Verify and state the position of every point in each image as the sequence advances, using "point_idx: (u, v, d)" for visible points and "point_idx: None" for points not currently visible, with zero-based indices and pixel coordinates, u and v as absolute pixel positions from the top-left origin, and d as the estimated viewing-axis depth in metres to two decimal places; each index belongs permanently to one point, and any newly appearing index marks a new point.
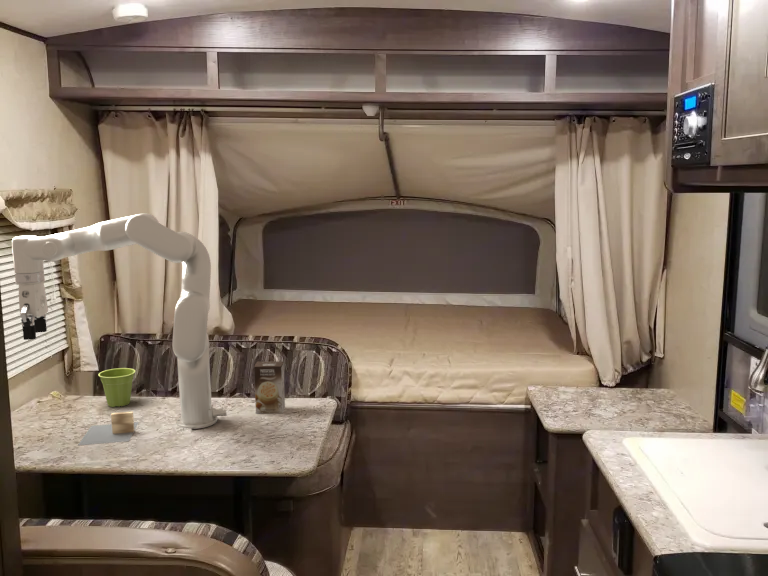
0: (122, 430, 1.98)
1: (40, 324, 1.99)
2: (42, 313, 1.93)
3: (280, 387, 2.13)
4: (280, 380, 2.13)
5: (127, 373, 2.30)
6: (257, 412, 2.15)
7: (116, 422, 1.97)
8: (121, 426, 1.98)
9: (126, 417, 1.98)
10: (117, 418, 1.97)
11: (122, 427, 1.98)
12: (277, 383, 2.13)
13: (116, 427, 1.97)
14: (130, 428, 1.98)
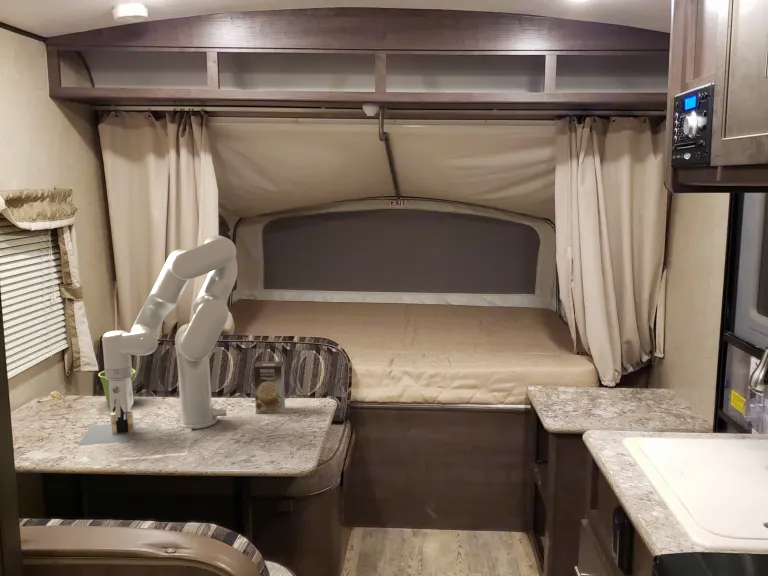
0: None
1: None
2: (130, 406, 1.97)
3: (280, 387, 2.13)
4: (280, 380, 2.13)
5: None
6: (257, 412, 2.15)
7: None
8: None
9: (126, 417, 1.97)
10: None
11: None
12: (277, 383, 2.13)
13: None
14: (130, 428, 1.98)
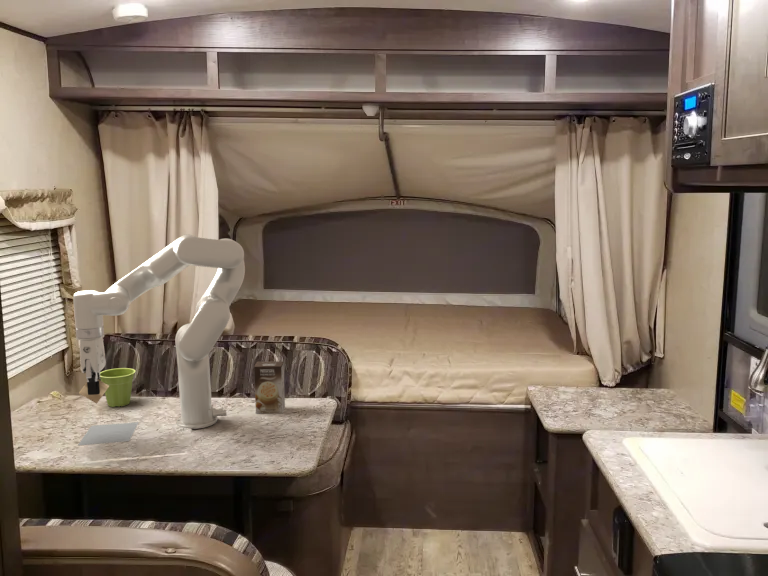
0: (88, 396, 1.94)
1: None
2: (101, 367, 1.94)
3: (280, 387, 2.13)
4: (280, 380, 2.13)
5: (127, 373, 2.30)
6: (257, 412, 2.15)
7: None
8: None
9: (100, 388, 1.95)
10: None
11: None
12: (277, 383, 2.13)
13: (85, 390, 1.94)
14: (96, 399, 1.95)
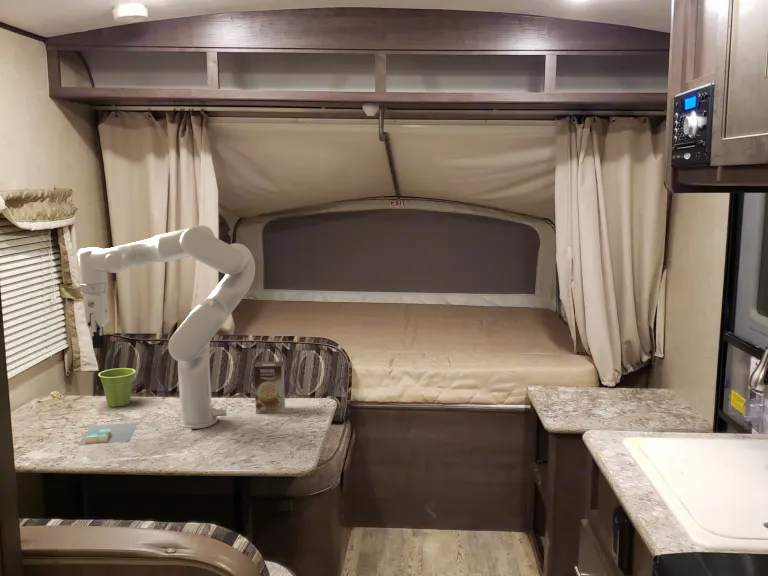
0: None
1: None
2: (106, 322, 2.01)
3: (280, 387, 2.13)
4: (280, 380, 2.13)
5: (127, 373, 2.30)
6: (257, 412, 2.15)
7: None
8: None
9: None
10: None
11: None
12: (277, 383, 2.13)
13: None
14: None
